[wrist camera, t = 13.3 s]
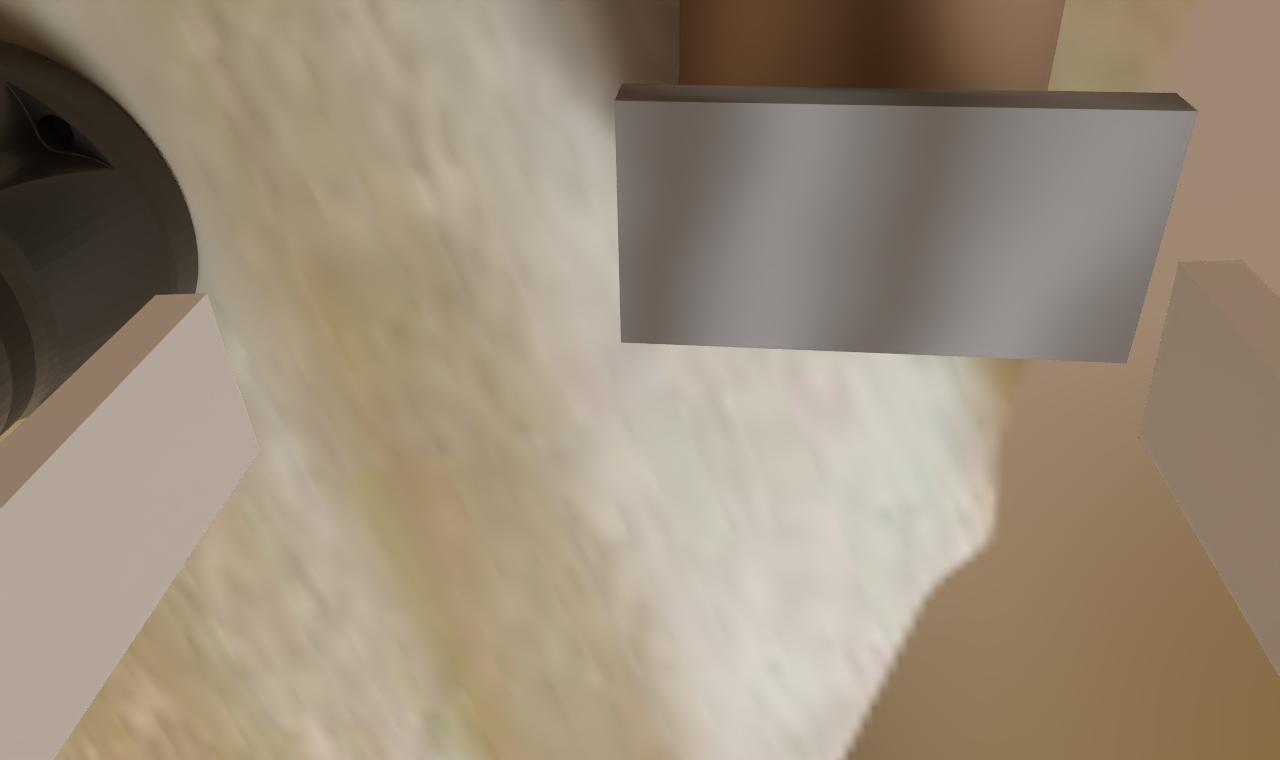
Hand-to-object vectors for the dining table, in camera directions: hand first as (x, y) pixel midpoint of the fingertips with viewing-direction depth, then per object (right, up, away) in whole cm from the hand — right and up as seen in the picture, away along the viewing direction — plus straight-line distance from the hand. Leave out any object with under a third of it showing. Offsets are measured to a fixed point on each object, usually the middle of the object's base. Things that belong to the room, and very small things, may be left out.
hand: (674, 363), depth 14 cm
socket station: (+7, +16, +19) cm, 26 cm away
